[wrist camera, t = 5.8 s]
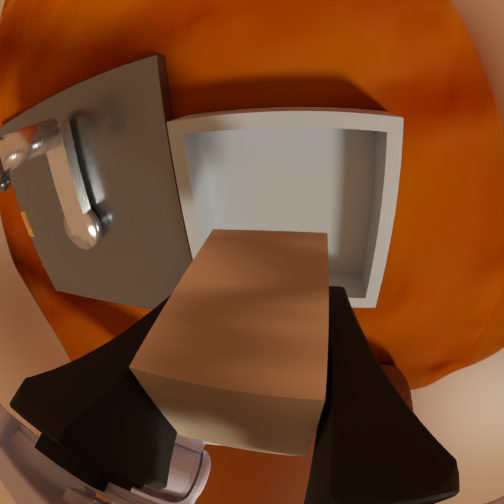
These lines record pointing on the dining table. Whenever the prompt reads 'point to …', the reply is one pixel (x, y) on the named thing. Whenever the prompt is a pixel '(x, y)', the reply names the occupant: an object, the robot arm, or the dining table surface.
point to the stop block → (244, 342)
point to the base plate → (111, 188)
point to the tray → (295, 181)
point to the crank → (54, 174)
